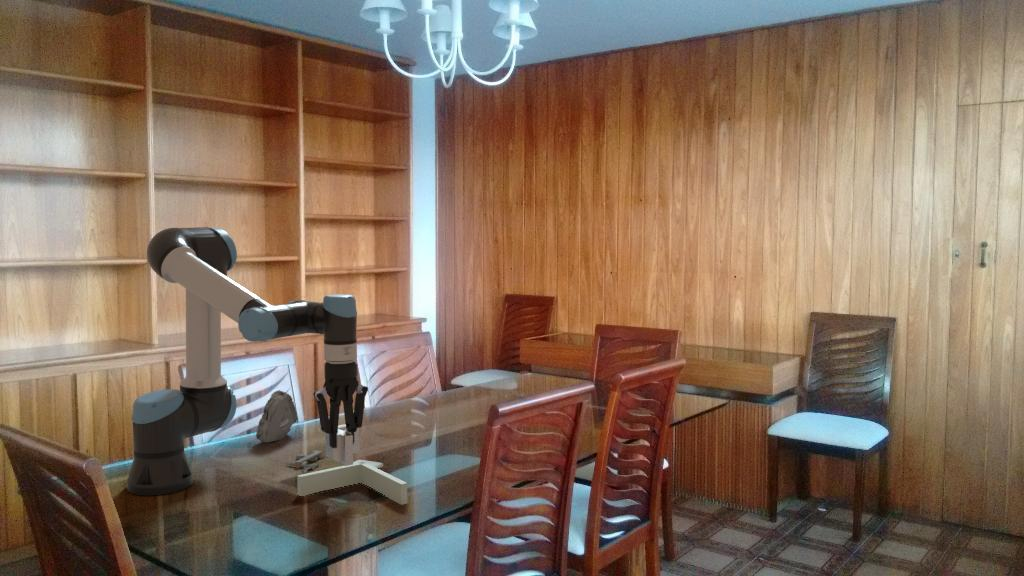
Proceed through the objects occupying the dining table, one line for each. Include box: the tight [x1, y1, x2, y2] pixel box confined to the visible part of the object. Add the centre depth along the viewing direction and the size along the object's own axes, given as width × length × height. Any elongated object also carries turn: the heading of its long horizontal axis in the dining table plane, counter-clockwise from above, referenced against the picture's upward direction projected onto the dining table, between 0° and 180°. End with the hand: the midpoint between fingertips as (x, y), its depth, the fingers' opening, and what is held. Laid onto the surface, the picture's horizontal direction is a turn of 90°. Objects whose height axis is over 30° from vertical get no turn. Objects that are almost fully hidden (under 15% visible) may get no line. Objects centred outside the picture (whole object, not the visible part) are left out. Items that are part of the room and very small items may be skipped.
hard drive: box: [353, 459, 384, 469], centre depth 215 cm, size 2×8×12 cm
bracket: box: [325, 424, 361, 466], centre depth 192 cm, size 10×8×7 cm
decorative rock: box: [255, 389, 299, 443], centre depth 243 cm, size 16×7×15 cm, turn 158°
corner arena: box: [296, 462, 408, 506], centre depth 193 cm, size 18×21×5 cm
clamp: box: [285, 449, 325, 474], centre depth 220 cm, size 15×2×10 cm
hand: (342, 459), depth 189 cm, fingers closed on bracket, 2 cm apart
